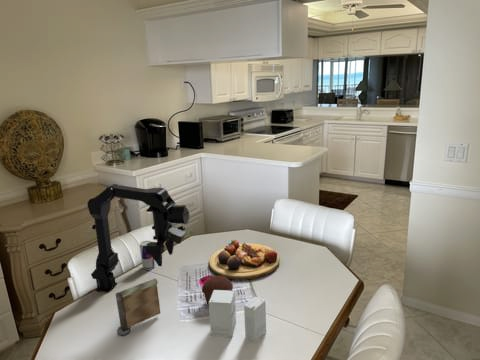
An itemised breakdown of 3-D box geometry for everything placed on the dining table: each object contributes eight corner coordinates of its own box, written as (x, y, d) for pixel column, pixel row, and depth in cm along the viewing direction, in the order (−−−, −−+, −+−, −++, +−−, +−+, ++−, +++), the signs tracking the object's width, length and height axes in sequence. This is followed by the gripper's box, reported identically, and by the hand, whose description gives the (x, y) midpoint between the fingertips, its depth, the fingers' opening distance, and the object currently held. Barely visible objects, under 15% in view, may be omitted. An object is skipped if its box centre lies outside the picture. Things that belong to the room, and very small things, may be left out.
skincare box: (256, 327, 120) (254, 295, 116) (267, 332, 117) (266, 300, 113) (244, 337, 115) (242, 304, 112) (255, 343, 112) (254, 309, 109)
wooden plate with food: (291, 255, 167) (291, 238, 165) (257, 288, 142) (256, 269, 140) (234, 243, 184) (233, 228, 182) (194, 270, 159) (193, 253, 157)
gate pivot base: (120, 338, 118) (119, 335, 117) (115, 331, 121) (115, 328, 121) (133, 332, 120) (132, 329, 120) (128, 325, 123) (128, 323, 123)
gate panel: (122, 330, 119) (116, 296, 115) (120, 328, 120) (114, 293, 117) (161, 313, 127) (157, 280, 123) (159, 311, 128) (155, 278, 125)
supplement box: (232, 337, 115) (230, 303, 112) (210, 336, 116) (207, 302, 113) (237, 322, 122) (235, 290, 119) (215, 321, 123) (213, 289, 120)
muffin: (220, 290, 142) (218, 267, 139) (240, 301, 134) (238, 277, 131) (196, 304, 134) (194, 280, 131) (216, 316, 126) (214, 291, 123)
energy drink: (151, 270, 159) (148, 246, 156) (140, 270, 160) (137, 245, 157) (156, 264, 164) (153, 240, 161) (146, 264, 165) (142, 240, 162)
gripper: (170, 233, 123) (175, 274, 127) (191, 214, 140) (194, 250, 144) (141, 231, 125) (146, 271, 129) (164, 212, 143) (168, 248, 147)
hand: (165, 260), depth 137 cm, fingers open, 9 cm apart
